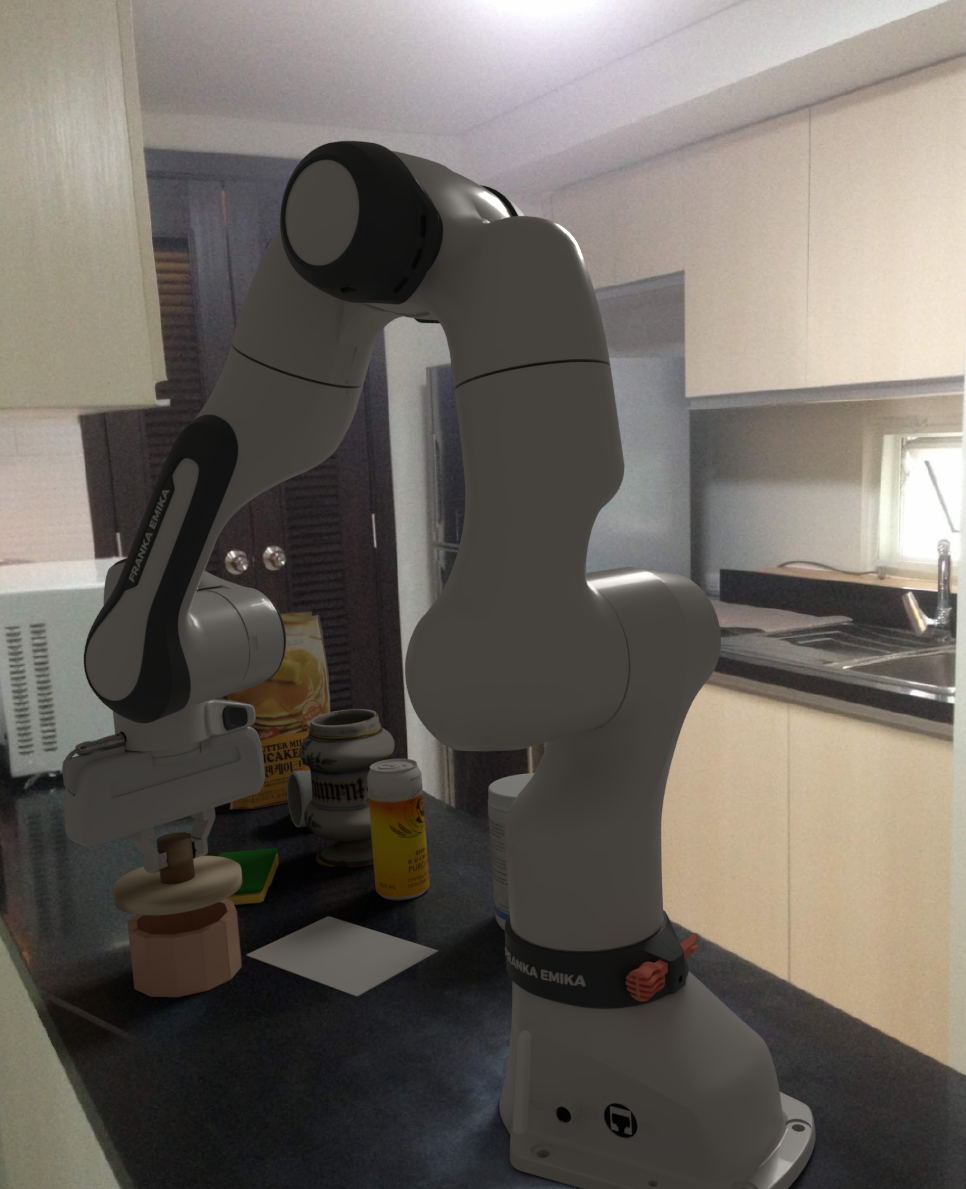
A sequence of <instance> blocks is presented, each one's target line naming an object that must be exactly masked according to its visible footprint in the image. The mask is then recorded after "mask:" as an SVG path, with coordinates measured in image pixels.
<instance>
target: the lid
mask: <svg viewBox="0 0 966 1189" xmlns="http://www.w3.org/2000/svg"><path fill="white" fill-rule="evenodd" d="M156 849H158V850H160V851H165V852H166V853H167V860H166V862H167V863H168V867H167V869H164V870H162V871H159V872H157V873H154V874H151V873H148V872H146V871H145V869H144V865H143V866H140V867H137V868H135V869H133V870H130V871H129V872H127V873H125V874H123V875H122V876H121V877H119V878H118V879H117V880H116V881H115V882H114V883H113V886H112V897H113V898H112V899H113V900H112V901H113V904H114V906H115V907H116V908H117V909H118V910H120V911H121V912H124V913H127V914H131V915H168V914H176V913H182V912H188V911H192V910H196V909H200V908H203V907H207V906H210V905H212V904H215V903H217V902H220V901H222V900H224V899H226V898H228V897H229V896H231V895H232V894H234V893H235V892H236V891H237V890H238V889H239V888H240V887H241V885H242V871H241V866H240V865H239V864H238V863H237V862H235V861H234V860H231V859H228V858H224V857H218V856H215V855H203V856H200V857H197V858H195V859H193V850H192V840H191V833H190V832H184V831H183V832H179V831H178V832H172V833H167V834H164V835H162V836H160V837H158V838H156Z"/></svg>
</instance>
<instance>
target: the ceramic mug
mask: <svg viewBox="0 0 966 1189" xmlns="http://www.w3.org/2000/svg"><path fill="white" fill-rule="evenodd" d="M287 799H288V803H287V804H288V809H289V814H290V818H291V821H292V823H293V825H294V826H295V827H296V828H297V829H298V828H299V829H300V828H307V826H306V824H305V820H304V812H305V809H306V807H307V805H308V804H309V802H310V801H311V800H312V783H311V772H310V770H306V771H294V772H292V773H291V774H290V775H289V778H288V783H287Z"/></svg>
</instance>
